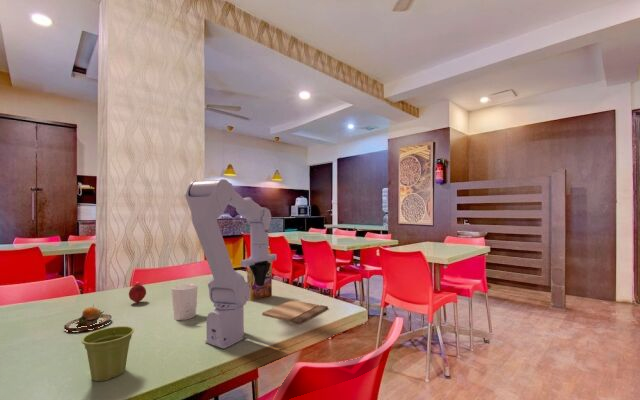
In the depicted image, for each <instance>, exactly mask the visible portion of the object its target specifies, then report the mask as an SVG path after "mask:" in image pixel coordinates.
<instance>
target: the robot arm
mask: <svg viewBox="0 0 640 400" xmlns="http://www.w3.org/2000/svg"><path fill="white" fill-rule="evenodd" d="M184 196H185V200H186V202H187V204H188V208H189V210H190V215H191V222H192V225H193V227H194V231H195V233H196V235H197V239H198V241H199V243H200V245H201V248H202V251H203V253H204V256H205V259H206V261H207V262H206V263H207V264H208V267H209V269H210V272H211V275H212V277H211V278H210V279H209V281H208V282H207V287H208V295H209V296H208V297H209V299H210V301H211V303H212V304H213V307H215V309H214V310H212V311H210V312H209V313H208V315H207V317H206V339H205V340H204V342H205V343H206V344H209V345H211V346H214V347H217V348H221V349H227V348H229V347H230V346H232V345H235V344H236V343H239V342H241V341H242V340H244V339H246V338H247V337H245V336H244V335H245V325H244V323H245V321H244V318H245V317H244V316H245V315H244V313H245V312H244V307H245V305H246V304H247V302H249V301H248V299H249V296H250V287H249V285H248V283H247V280H246V279H245V277H244V276H243V275H242V274H241V273H239V272H237V271H236V270H235V269H234V266H233V264H232V260H231V258H230V254H229V252H228V249H227V247H226V244H225V240H224V238H223V233H222V232H221V228H220V225H219V222H218V218H220V217H221V216H222V215H223V214H224V213H225V211H226V210H227V207H228V205H229V206H231V207H233V208H235V211H236V213H237V214H238V215H240V216H241V217H243V219H245V220H246V222H247V224H248V225H250V256H249V257H248V258H246V259H242V260H241V261H240V266H241V268H242V267H243V268H247V267H248V266H249V267H250V269H251V271H252V272H253V275H254V277H255V281H256V284H257V286H263V285H264V282H265V278H266V274H267V272H268V269H269V267H270V266H271V264H270V263H267V261H277V254H276V253H271V254H269V230H270V227H271V225H270V224H271V221H272V213H271V211H270V209H269V208H267V207H262V206H260V204H258V203H256V202H255V201H254V200H253V198H252V197H249V196H247V197H242V196H241V195H240V194H239V193H238V192H237V191H236V190H235V189H234V186H233V184H232V183H231V182H229V180H227V179H223V178H222V179H219V180H215V179H214V180H200V181H199V180H193V181H191V182H190V183H189V185H188V187H187V189H186V192H185V195H184Z"/></svg>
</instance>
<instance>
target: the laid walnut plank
mask: <svg viewBox="0 0 640 400" xmlns="http://www.w3.org/2000/svg"><path fill="white" fill-rule="evenodd" d="M328 308H329V306H327V305H322V304H319V306H318V307H316V308H314V309H312V310H310V311H308V312H306V313H304V314H302V315H301V316H299V317H297V318H295V319H293V320H292V322H291V323H293V324H298V325H301V324H303V323H305V322H307V321H308V320H310V319H312V318H314V317H316V316H318V315H319V314H321V313H323V312H325V311H327V310H328Z"/></svg>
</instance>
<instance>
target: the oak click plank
mask: <svg viewBox="0 0 640 400" xmlns="http://www.w3.org/2000/svg"><path fill="white" fill-rule="evenodd" d="M318 306H320V304H317V303H311V302H305V301H301V300H295V299H291V300H289V301H286V302H284V303H281V304H279V305H277V306H275V307H273V308H270V309H268V310H265V311H263V312H262V313H261V315H262V316H265V317H268V318H273V319H278V320H282V321H286V322H290V323H293V322H292V320H293V319H295V318H297V317H299V316H301V315H302V314H304V313H306V312H308V311H310V310H312V309H314V308H316V307H318Z"/></svg>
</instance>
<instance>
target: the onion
mask: <svg viewBox="0 0 640 400" xmlns="http://www.w3.org/2000/svg"><path fill="white" fill-rule="evenodd" d="M128 291H129V292H128V297H129V299H130V300H131V301H133V302H134V303H136V302H138V303H140V302H141V301H142V300H143V299H144V298H145V297H146V294H147V290H146V287H145V286H144V285H142V284H140V282H138V281H136V282H135V285H133V286H132V287H131V288H130V289H129V290H128Z"/></svg>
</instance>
